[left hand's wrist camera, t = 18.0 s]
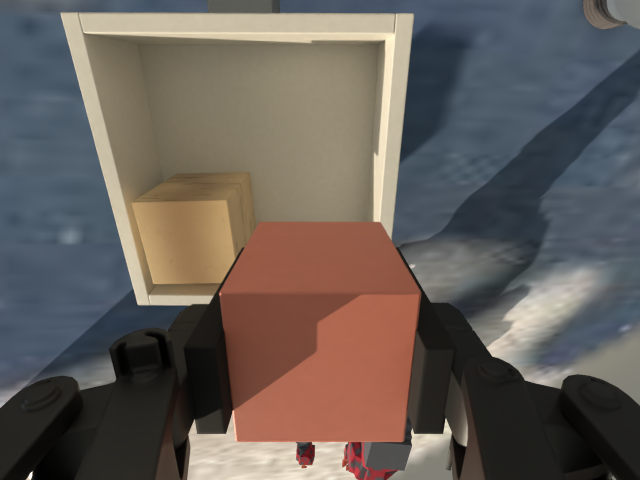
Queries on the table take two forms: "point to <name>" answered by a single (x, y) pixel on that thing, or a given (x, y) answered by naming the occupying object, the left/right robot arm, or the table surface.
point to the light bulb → (612, 13)
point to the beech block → (195, 225)
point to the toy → (367, 456)
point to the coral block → (320, 334)
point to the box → (245, 112)
